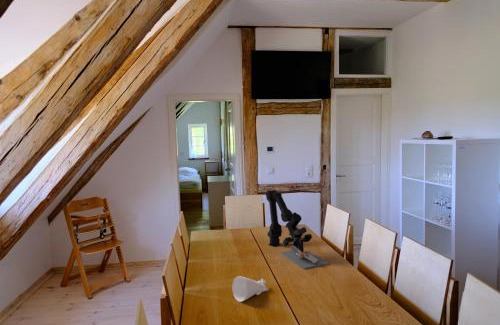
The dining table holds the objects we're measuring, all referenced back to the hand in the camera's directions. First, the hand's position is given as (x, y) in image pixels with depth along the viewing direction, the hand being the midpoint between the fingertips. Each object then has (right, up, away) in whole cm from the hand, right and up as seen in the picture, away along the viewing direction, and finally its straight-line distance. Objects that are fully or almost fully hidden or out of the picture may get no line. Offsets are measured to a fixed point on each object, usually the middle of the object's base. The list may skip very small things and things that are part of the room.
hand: (302, 251), depth 197 cm
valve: (+2, -7, +9) cm, 11 cm away
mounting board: (+2, -7, +9) cm, 11 cm away
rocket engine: (-30, -12, -37) cm, 50 cm away
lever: (-3, -4, +7) cm, 9 cm away
